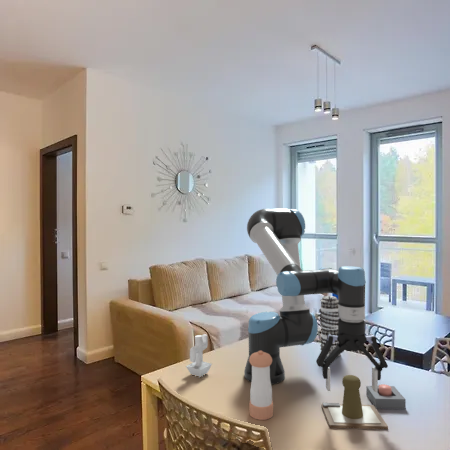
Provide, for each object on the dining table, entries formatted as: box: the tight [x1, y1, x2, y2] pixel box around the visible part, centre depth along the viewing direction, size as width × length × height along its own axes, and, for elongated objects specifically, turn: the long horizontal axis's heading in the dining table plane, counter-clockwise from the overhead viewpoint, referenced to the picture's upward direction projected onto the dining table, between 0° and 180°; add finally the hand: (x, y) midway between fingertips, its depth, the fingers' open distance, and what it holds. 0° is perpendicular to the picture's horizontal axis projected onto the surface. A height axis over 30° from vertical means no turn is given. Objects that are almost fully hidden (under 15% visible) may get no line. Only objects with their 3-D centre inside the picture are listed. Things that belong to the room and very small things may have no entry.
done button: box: [378, 383, 392, 396], centre depth 117 cm, size 4×4×2 cm
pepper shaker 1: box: [248, 351, 274, 421], centre depth 111 cm, size 7×7×19 cm
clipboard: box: [320, 402, 389, 430], centre depth 108 cm, size 16×12×1 cm
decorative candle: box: [318, 295, 342, 357], centre depth 161 cm, size 9×9×25 cm
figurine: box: [185, 333, 213, 378], centre depth 141 cm, size 7×9×15 cm
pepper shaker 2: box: [342, 374, 363, 419], centre depth 108 cm, size 6×6×11 cm
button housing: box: [365, 385, 407, 410], centre depth 117 cm, size 9×9×3 cm
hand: (351, 389), depth 109 cm, fingers open, 13 cm apart
